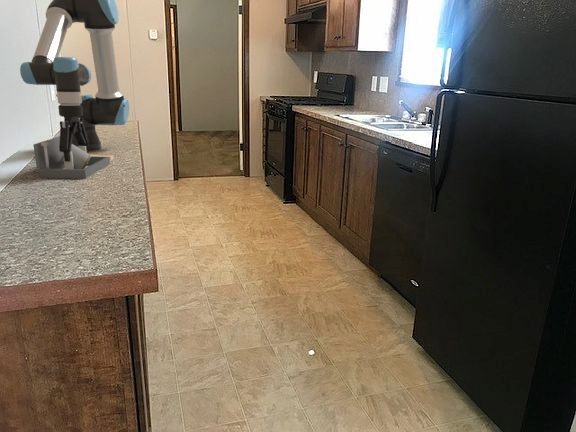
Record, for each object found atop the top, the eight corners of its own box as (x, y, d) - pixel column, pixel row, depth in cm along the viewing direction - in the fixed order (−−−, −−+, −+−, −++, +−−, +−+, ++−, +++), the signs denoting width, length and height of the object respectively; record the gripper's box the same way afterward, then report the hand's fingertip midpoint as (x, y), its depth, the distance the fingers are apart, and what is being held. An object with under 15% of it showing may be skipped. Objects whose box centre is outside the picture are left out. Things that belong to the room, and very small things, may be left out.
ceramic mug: (80, 177, 166) (88, 161, 162) (56, 165, 162) (64, 149, 159) (88, 161, 174) (96, 146, 170) (66, 150, 171) (74, 134, 167)
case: (67, 163, 179) (64, 133, 176) (110, 164, 180) (107, 134, 176) (37, 177, 156) (32, 143, 153) (85, 178, 157) (82, 144, 153)
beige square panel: (81, 156, 193) (81, 153, 193) (116, 157, 194) (115, 154, 194) (67, 163, 180) (67, 160, 180) (104, 163, 181) (104, 160, 180)
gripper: (73, 101, 172) (79, 160, 179) (42, 106, 149) (50, 173, 156) (94, 102, 173) (99, 161, 179) (66, 107, 150) (73, 174, 156)
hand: (76, 167), depth 167 cm, fingers closed on ceramic mug, 12 cm apart
